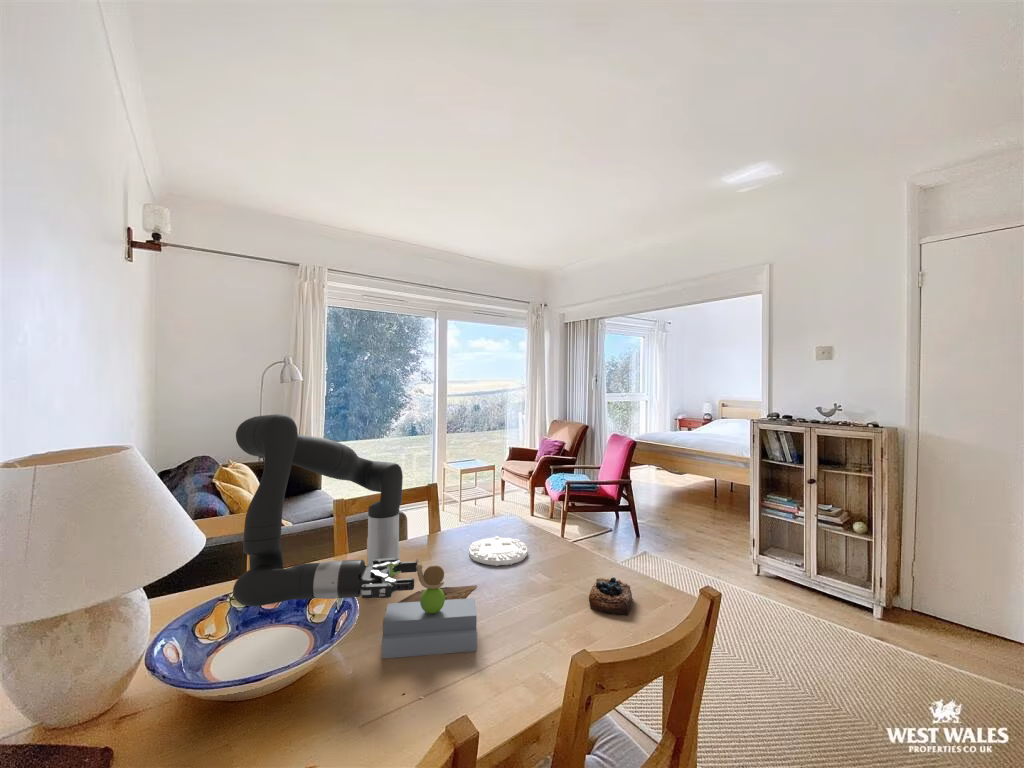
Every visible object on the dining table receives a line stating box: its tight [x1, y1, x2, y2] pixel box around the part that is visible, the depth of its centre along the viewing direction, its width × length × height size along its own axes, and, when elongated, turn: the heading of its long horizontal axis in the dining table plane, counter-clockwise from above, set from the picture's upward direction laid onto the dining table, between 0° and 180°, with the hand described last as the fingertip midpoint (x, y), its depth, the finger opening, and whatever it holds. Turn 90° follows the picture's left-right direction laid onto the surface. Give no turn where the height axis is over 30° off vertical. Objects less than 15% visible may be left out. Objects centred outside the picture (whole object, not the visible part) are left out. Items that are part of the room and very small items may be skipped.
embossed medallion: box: [468, 535, 528, 567], centre depth 142 cm, size 20×20×3 cm
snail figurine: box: [415, 558, 445, 614], centre depth 93 cm, size 5×6×12 cm
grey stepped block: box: [380, 597, 478, 660], centre depth 94 cm, size 20×10×7 cm, turn 98°
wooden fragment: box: [385, 585, 478, 610], centre depth 112 cm, size 26×11×1 cm, turn 119°
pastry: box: [588, 577, 634, 617], centre depth 111 cm, size 11×12×6 cm
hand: (415, 574), depth 93 cm, fingers open, 8 cm apart
